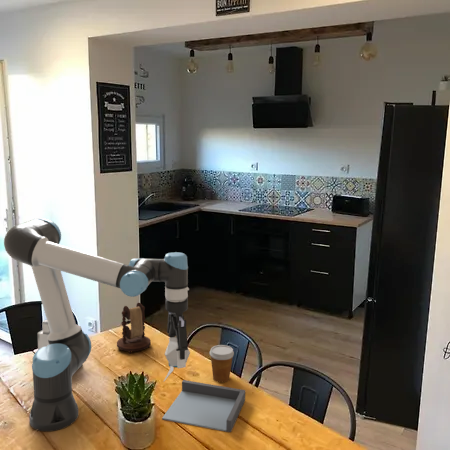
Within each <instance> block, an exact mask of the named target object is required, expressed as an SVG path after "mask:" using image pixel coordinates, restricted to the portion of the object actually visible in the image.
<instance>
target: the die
mask: <svg viewBox="0 0 450 450" xmlns="http://www.w3.org/2000/svg"><path fill="white" fill-rule="evenodd" d="M176 349H178V344H177V341H173V342H168V344H167V347H166V349H165V352H164V356H165V358H166V360H167V362H168V365H169V364H170V366H177V351H176ZM190 354H191V351H190V350H189V348H188V350H186V363H187V362H188V360H189V356H190ZM170 366H169V367H170Z"/></svg>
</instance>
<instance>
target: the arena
mask: <svg viewBox="0 0 450 450" xmlns="http://www.w3.org/2000/svg"><path fill="white" fill-rule="evenodd" d="M245 401H246V390H245V389H240V388H236V387H235V388H234V387H228V386H223V385H217V384H211V383H203V382H197V381H194V380H193V381H191V380H186V379H183V380H182V381H181V391H180V393H179V394H178V395H177V397H175V400H173V402H172V404H171V405H170V406H169V408H168V409H167V411H166V412H165V414H164V415H163V416H162V418H161V419H162V421H163V420H164V421H170V422H174V423H179V424H180V423H181V424H184V425H190V426H196V427H201V428H206V429H211V430H216V431H222V432H226V433H232V431H233V429H234V427H235V425H236V421H237V419H238V417H239V415H240V413H241V410H242V408H243V406H244V404H245Z"/></svg>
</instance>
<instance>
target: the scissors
mask: <svg viewBox="0 0 450 450" xmlns="http://www.w3.org/2000/svg"><path fill="white" fill-rule="evenodd" d="M168 367H169V370H168V372H167V374H166V376H165V377H164V380H163V382H165V381H166V380H167V378H168V377H169V376H170V375H171V374H172V373H173V371H174V368H177V366H170V364H169V363H168Z"/></svg>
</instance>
